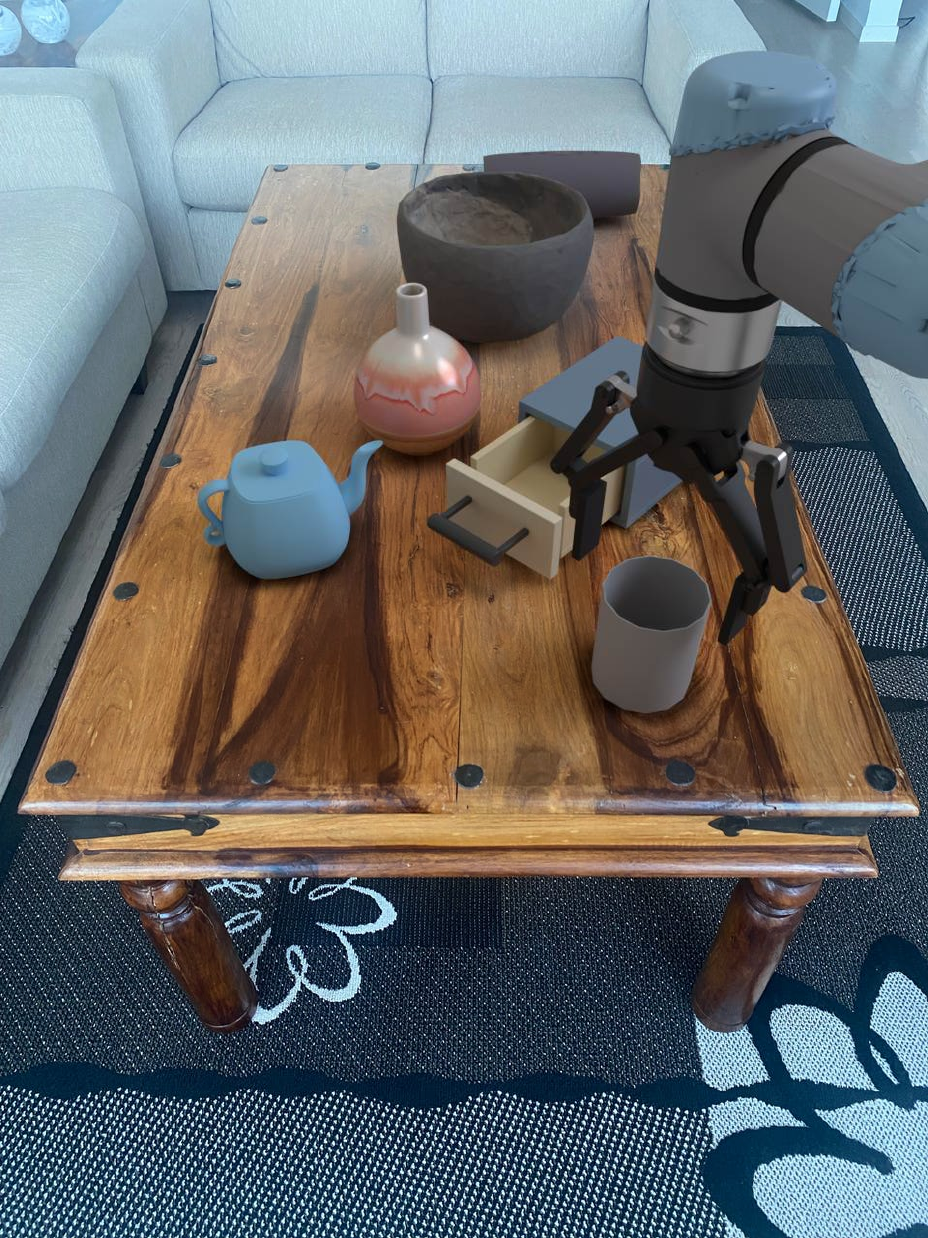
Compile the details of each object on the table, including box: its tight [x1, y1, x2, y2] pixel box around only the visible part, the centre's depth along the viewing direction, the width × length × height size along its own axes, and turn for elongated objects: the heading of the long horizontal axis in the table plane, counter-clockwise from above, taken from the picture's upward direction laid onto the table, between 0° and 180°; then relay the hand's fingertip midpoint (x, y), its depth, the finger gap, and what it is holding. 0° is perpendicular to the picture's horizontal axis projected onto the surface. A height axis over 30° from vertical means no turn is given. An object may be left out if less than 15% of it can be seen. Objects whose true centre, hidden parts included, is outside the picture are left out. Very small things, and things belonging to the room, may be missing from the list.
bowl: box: [396, 171, 595, 344], centre depth 115 cm, size 24×24×15 cm
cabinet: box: [517, 335, 684, 530], centre depth 96 cm, size 17×14×9 cm
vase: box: [352, 282, 482, 457], centre depth 96 cm, size 14×14×18 cm
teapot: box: [196, 439, 383, 580], centre depth 87 cm, size 13×11×18 cm
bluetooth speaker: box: [482, 150, 642, 221], centre depth 137 cm, size 23×9×10 cm, turn 90°
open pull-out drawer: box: [426, 415, 628, 580], centre depth 89 cm, size 21×13×7 cm, turn 138°
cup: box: [590, 554, 713, 714], centre depth 75 cm, size 8×8×10 cm
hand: (654, 590), depth 72 cm, fingers open, 13 cm apart
